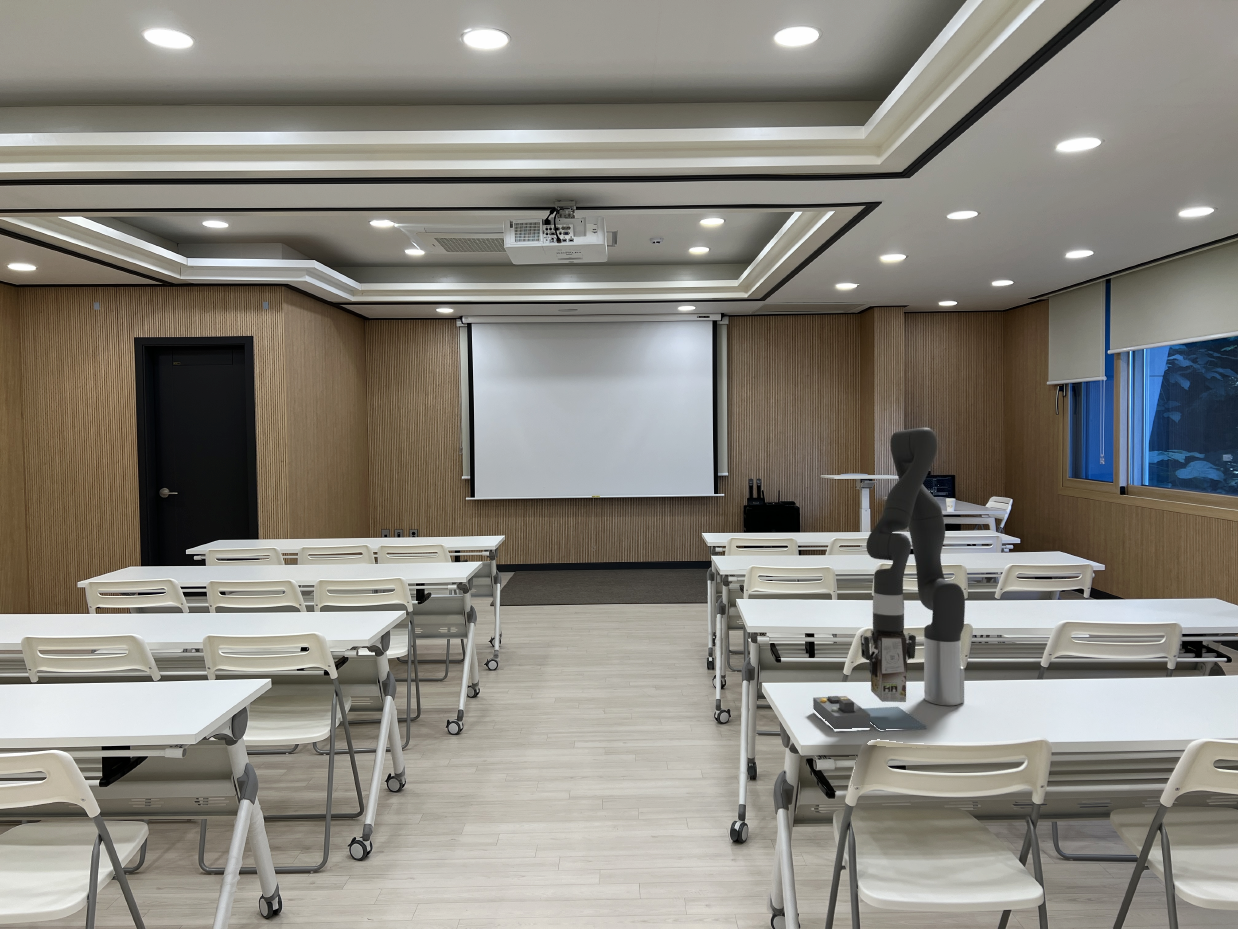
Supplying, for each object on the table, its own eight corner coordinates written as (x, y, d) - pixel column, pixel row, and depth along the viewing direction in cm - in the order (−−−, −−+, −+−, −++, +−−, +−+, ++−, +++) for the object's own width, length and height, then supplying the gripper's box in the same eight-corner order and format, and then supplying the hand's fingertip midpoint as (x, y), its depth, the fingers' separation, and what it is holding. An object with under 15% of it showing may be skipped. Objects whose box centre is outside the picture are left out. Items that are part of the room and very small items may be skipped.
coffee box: (907, 702, 185) (907, 637, 185) (881, 702, 185) (881, 637, 185) (894, 691, 194) (894, 629, 194) (870, 690, 194) (870, 629, 194)
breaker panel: (813, 712, 195) (813, 695, 195) (846, 711, 197) (845, 693, 196) (835, 732, 182) (835, 713, 181) (870, 730, 183) (870, 711, 183)
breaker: (839, 710, 187) (839, 699, 187) (849, 709, 187) (848, 698, 187) (844, 714, 184) (844, 702, 184) (854, 713, 184) (854, 702, 184)
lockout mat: (898, 709, 197) (898, 706, 197) (926, 728, 183) (926, 725, 183) (854, 712, 196) (854, 708, 196) (879, 731, 182) (879, 728, 182)
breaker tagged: (828, 707, 194) (827, 696, 194) (837, 706, 194) (837, 695, 194) (832, 710, 191) (832, 700, 191) (842, 710, 191) (842, 699, 191)
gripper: (907, 607, 194) (907, 670, 194) (855, 608, 192) (854, 672, 193) (922, 613, 187) (922, 679, 187) (867, 614, 185) (867, 681, 185)
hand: (888, 675), depth 190 cm, fingers closed on coffee box, 7 cm apart
